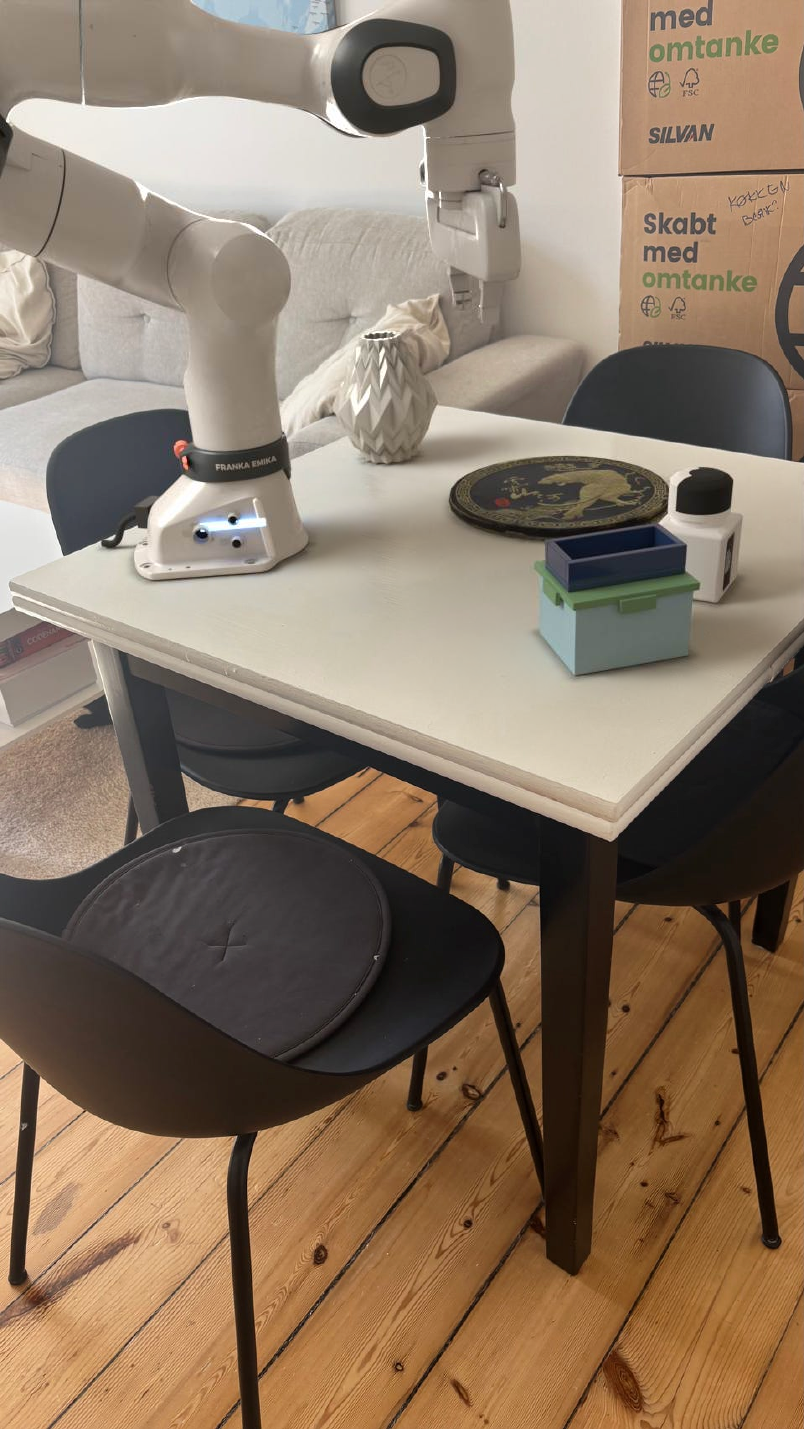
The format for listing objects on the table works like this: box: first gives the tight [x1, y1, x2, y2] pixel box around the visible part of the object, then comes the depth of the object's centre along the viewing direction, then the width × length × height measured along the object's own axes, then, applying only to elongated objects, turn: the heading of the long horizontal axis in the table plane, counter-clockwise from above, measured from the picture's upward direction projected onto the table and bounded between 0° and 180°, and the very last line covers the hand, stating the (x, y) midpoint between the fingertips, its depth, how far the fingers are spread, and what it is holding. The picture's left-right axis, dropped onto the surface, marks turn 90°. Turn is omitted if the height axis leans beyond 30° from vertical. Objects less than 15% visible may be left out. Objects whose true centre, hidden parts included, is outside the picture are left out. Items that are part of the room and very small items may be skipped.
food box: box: [533, 559, 700, 676], centre depth 106 cm, size 14×12×8 cm
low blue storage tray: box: [544, 522, 687, 592], centre depth 103 cm, size 12×6×3 cm, turn 103°
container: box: [658, 466, 744, 604], centre depth 115 cm, size 8×8×13 cm
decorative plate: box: [448, 455, 669, 541], centre depth 144 cm, size 30×2×30 cm
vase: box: [331, 330, 439, 465], centre depth 162 cm, size 16×16×18 cm
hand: (475, 316), depth 110 cm, fingers open, 8 cm apart
